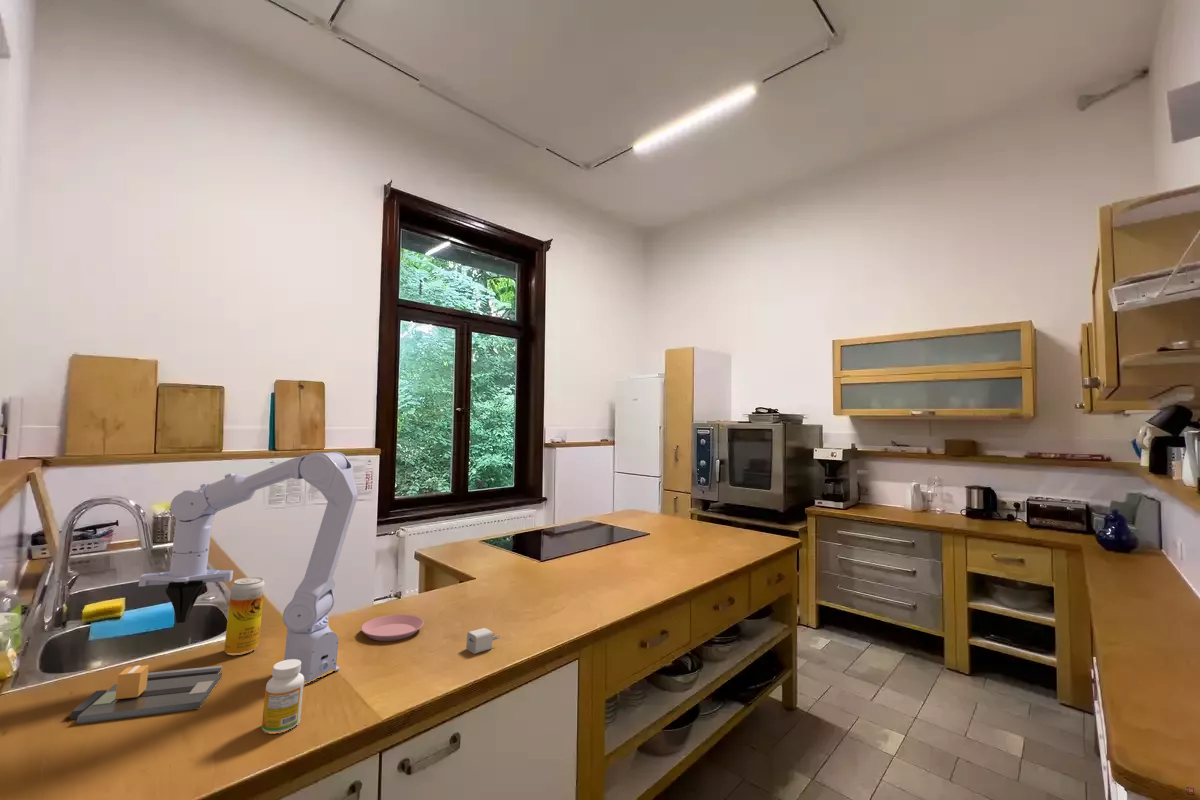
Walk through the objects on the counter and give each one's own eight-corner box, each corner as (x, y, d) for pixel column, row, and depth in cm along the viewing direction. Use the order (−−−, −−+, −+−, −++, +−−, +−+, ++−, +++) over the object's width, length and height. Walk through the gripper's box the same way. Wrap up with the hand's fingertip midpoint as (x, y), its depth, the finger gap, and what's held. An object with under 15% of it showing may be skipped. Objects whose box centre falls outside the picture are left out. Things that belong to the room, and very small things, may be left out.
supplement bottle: (273, 716, 83) (279, 656, 84) (306, 716, 84) (312, 657, 85) (254, 735, 78) (260, 671, 79) (289, 735, 79) (295, 671, 79)
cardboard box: (146, 688, 88) (149, 664, 88) (137, 696, 85) (140, 671, 85) (124, 690, 86) (127, 666, 87) (115, 699, 84) (118, 674, 84)
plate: (435, 629, 125) (436, 620, 125) (391, 649, 112) (392, 640, 112) (393, 618, 131) (394, 610, 131) (346, 636, 118) (347, 628, 118)
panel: (221, 679, 95) (222, 672, 95) (199, 709, 85) (200, 701, 85) (113, 691, 89) (114, 683, 89) (76, 724, 79) (77, 715, 79)
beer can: (240, 658, 104) (248, 585, 105) (216, 655, 105) (224, 582, 106) (265, 647, 110) (272, 578, 111) (242, 644, 111) (249, 575, 112)
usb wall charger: (466, 649, 114) (467, 631, 114) (491, 641, 119) (492, 624, 119) (475, 654, 111) (476, 636, 112) (501, 646, 116) (502, 629, 116)
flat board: (222, 670, 98) (223, 664, 98) (196, 704, 86) (197, 696, 86) (114, 681, 92) (115, 674, 92) (70, 719, 80) (71, 711, 80)
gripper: (134, 556, 92) (124, 631, 91) (228, 553, 97) (220, 624, 96) (152, 548, 99) (143, 618, 97) (239, 546, 104) (231, 612, 103)
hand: (182, 621), depth 97 cm, fingers closed
